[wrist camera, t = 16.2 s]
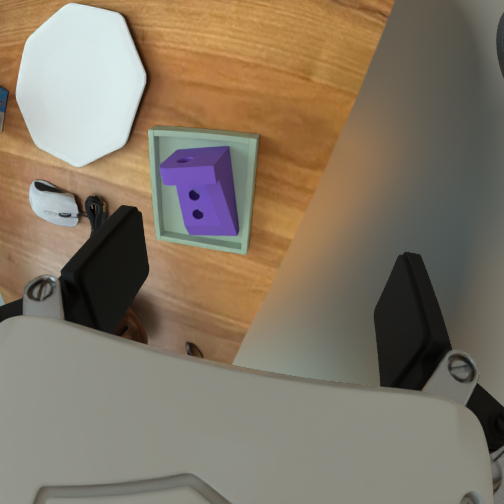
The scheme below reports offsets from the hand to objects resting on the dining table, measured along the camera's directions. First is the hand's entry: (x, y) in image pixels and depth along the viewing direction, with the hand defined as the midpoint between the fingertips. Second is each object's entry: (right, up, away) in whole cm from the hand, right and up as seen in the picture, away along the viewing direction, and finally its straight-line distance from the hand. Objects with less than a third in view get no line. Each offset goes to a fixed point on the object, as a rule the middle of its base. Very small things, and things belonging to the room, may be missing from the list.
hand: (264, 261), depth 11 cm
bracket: (-6, +8, +30) cm, 32 cm away
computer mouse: (-32, +8, +37) cm, 49 cm away
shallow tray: (-7, +9, +31) cm, 33 cm away
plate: (-25, +24, +24) cm, 42 cm away
